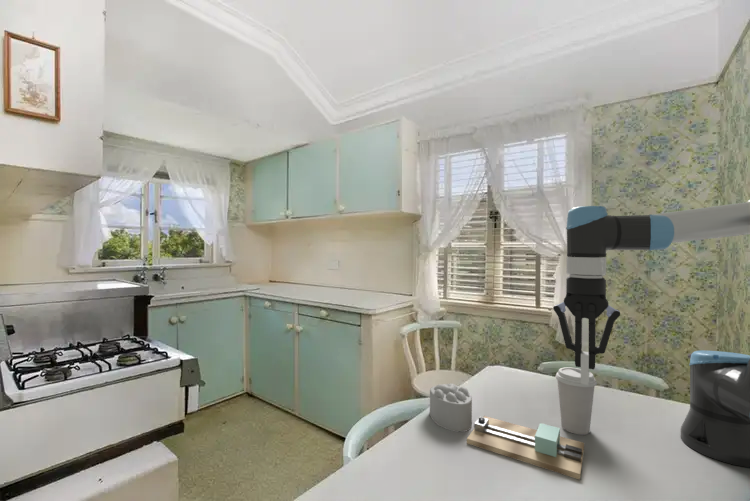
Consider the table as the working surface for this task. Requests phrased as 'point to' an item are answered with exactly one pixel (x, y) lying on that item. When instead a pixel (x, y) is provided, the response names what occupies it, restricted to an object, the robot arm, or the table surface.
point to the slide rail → (483, 424)
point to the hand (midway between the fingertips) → (584, 382)
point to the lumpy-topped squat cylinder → (451, 407)
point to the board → (527, 448)
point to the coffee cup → (575, 400)
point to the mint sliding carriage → (547, 439)
